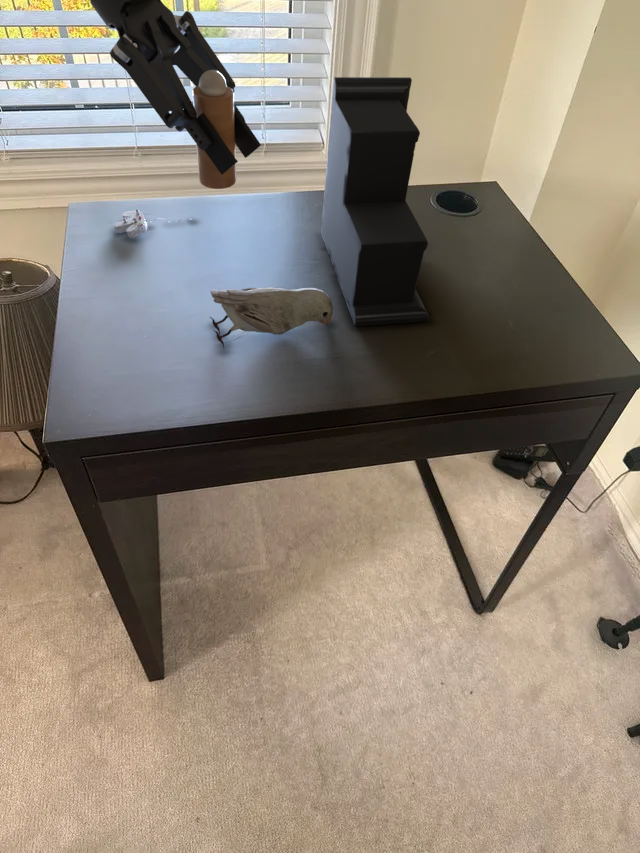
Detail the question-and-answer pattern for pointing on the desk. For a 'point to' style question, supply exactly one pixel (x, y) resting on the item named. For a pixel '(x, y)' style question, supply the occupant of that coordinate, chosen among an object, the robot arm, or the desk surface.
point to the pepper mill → (215, 125)
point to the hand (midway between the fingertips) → (241, 159)
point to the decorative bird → (272, 309)
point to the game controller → (132, 224)
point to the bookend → (373, 201)
